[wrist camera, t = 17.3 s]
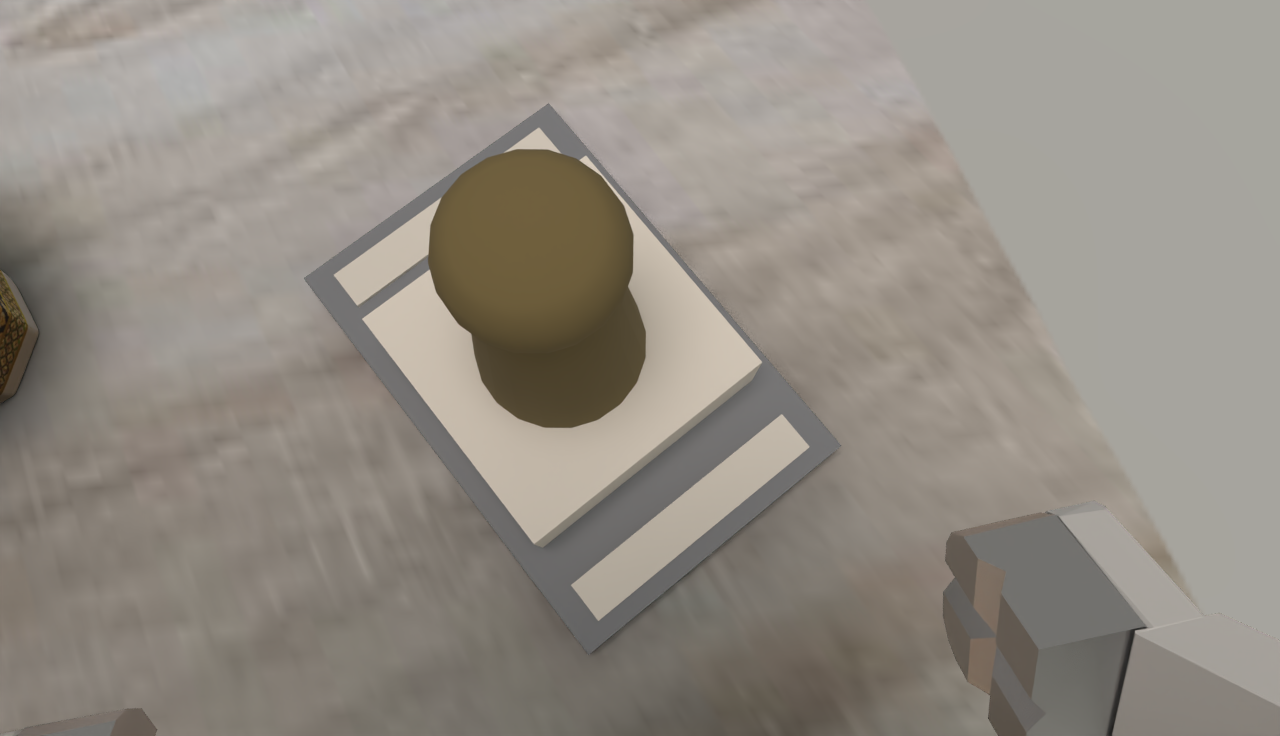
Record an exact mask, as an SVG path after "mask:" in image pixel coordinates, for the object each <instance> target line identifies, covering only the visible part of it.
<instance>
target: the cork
mask: <svg viewBox="0 0 1280 736" xmlns="http://www.w3.org/2000/svg"><path fill="white" fill-rule="evenodd" d="M633 241H634V234H633V231H632V228H631V225H630V222H629V219H628V216H627V213H626V210H625V207H624V205H623V204H622V202H621V201H620V200H619V198H618V197H617V196H616V194H615V193H614V192H613V190H612V189H611V188H610V186H609V185H608V184H607V182H606V181H605V180H604V179H603V177H602V176H601V175H600V174H598V173H597V172H595V171H594V170H592V169H591V168H590V167H588V166H587V165H585V164H584V163H582V162H581V161H579V160H578V159H576V158H573V157H570V156H567V155H564V154H561V153H557V152H554V151H551V150H548V149H516V150H512V151H509V152H505V153H502V154H498V155H494V156H491V157H487V158H486V159H484V160H483V161H481V162H479V163H478V164H476V165H475V166H473V167H472V168H470V169H469V170H467V171H465V172H464V173H462V174H461V175H460V176H459V177H458V179H457V180H456V181H455V182H454V183H453V185H452V186H451V187H450V188H449V189H448V190H447V192H446V193H445V194H444V195H443V196H442V198H441V200H440V203H439V205H438V207H437V210H436V212H435V215H434V217H433V220H432V222H431V225H430V237H429V253H428V265H429V269H430V272H431V276H432V280H433V283H434V287H435V290H436V293H437V295H438V296H439V297H440V299H441V300H442V302H443V303H444V305H445V306H446V308H447V309H448V310H449V312H450V313H451V315H452V316H453V318H454V319H455V320H456V322H457V323H458V324H459V325H460V326H461V327H463V328H464V329H465V330H467V331H468V332H469V333H471V335H472V342H473V349H474V355H475V359H476V363H477V366H478V370H479V373H480V377H481V380H482V382H483V384H484V385H485V387H486V388H487V389H488V391H489V392H490V394H491V395H492V397H493V398H494V400H495V401H496V402H497V403H498V404H499V405H500V406H502V407H503V408H504V409H506V410H507V411H508V412H510V413H511V414H512V415H514V416H515V417H516V418H518V419H520V420H523V421H526V422H529V423H532V424H535V425H538V426H541V427H544V428H573V427H577V426H580V425H583V424H586V423H590V422H593V421H596V420H599V419H600V418H602V417H603V416H604V415H606V414H607V413H609V412H610V411H612V410H613V409H614V408H616V407H617V406H619V405H620V404H621V403H622V402H623V400H624V399H625V398H626V397H627V395H628V394H629V393H630V391H631V390H632V389H633V387H634V386H635V385H636V383H637V381H638V378H639V375H640V373H641V370H642V367H643V364H644V361H645V358H646V330H645V327H644V324H643V321H642V318H641V315H640V312H639V309H638V306H637V304H636V302H635V300H634V298H633V296H632V294H631V292H630V290H629V287H628V285H629V282H630V279H631V277H632V274H633Z"/></svg>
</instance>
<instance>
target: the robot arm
mask: <svg viewBox="0 0 1280 736" xmlns="http://www.w3.org/2000/svg"><path fill="white" fill-rule="evenodd" d="M945 561H946V563H947V565H948V566H949V568H950V570H951V571H952V573H953V575H954V576H955V578H954V579H953V581H952V582H951V583H950V584H949V585H948V587H947V588H946V589H945V590H944V592H943V618H944V623H945V628H946V632H947V637H948V641H949V644H950V646H951V649H952V651H953V654H954V656H955V659H956V661H957V663H958V665H959V667H960V669H961V671H962V672H963V674H964V676H965V678H966V680H967V682H969V683H971V684H972V685H974V686H976V687H977V688H979V689H981V690H982V691H984V692H986V693H987V694H989V695H990V702H989V713H988V719H989V721H990V723H991V724H992V726H993V728H994V730H995V732H996V733H997V735H998V736H1280V640H1279V639H1276V638H1274V637H1272V636H1270V635H1268V634H1265V633H1263V632H1261V631H1258V630H1256V629H1254V628H1252V627H1250V626H1248V625H1245V624H1243V623H1241V622H1239V621H1237V620H1234V619H1232V618H1230V617H1228V616H1225V615H1223V614H1221V613H1217V614H1211V615H1205V616H1204V615H1203V613H1202V612H1201V611H1200V610H1199V609H1198V608H1197V607H1196V606H1195V605H1194V603H1193V602H1192V601H1191V600H1190V599H1189V598H1188V597H1187V596H1186V595H1185V594H1184V592H1183V591H1182V590H1181V589H1180V588H1179V587H1178V586H1177V585H1176V584H1175V583H1174V581H1173V580H1172V579H1171V578H1170V577H1169V576H1168V575H1167V574H1166V573H1165V572H1164V570H1163V569H1162V568H1161V567H1160V566H1159V565H1158V564H1157V563H1156V562H1155V560H1154V559H1153V558H1152V557H1151V556H1150V555H1149V554H1148V553H1147V552H1146V551H1145V549H1144V548H1143V547H1142V546H1141V545H1140V544H1139V543H1138V542H1137V541H1136V540H1135V538H1134V537H1133V536H1132V535H1131V534H1130V533H1129V532H1128V531H1127V530H1126V529H1125V527H1124V526H1123V525H1122V524H1121V523H1120V522H1119V521H1118V520H1117V519H1116V517H1115V516H1114V515H1113V514H1112V513H1111V512H1110V511H1109V510H1108V509H1107V508H1106V507H1105V506H1104V505H1102V504H1100V503H1098V502H1096V501H1091V502H1086V503H1082V504H1077V505H1073V506H1068V507H1064V508H1059V509H1055V510H1050V511H1047V512H1045V513H1036V514H1031V515H1027V516H1022V517H1018V518H1013V519H1009V520H1004V521H1000V522H995V523H991V524H986V525H982V526H978V527H973V528H969V529H964V530H960V531H955V532H951V534H950V536H949V538H948V540H947V542H946V555H945ZM156 732H157V729H156V727H155V726H154V725H153V723H152V722H151V720H150V719H149V718H148V716H147V715H146V714H145V712H144V711H143V710H142V708H133V709H122V710H117V711H112V712H106V713H101V714H96V715H90V716H85V717H80V718H74V719H69V720H64V721H58V722H53V723H48V724H42V725H37V726H32V727H26V728H24V729H20V730H15V731H10V732H4V733H0V736H155V735H156Z"/></svg>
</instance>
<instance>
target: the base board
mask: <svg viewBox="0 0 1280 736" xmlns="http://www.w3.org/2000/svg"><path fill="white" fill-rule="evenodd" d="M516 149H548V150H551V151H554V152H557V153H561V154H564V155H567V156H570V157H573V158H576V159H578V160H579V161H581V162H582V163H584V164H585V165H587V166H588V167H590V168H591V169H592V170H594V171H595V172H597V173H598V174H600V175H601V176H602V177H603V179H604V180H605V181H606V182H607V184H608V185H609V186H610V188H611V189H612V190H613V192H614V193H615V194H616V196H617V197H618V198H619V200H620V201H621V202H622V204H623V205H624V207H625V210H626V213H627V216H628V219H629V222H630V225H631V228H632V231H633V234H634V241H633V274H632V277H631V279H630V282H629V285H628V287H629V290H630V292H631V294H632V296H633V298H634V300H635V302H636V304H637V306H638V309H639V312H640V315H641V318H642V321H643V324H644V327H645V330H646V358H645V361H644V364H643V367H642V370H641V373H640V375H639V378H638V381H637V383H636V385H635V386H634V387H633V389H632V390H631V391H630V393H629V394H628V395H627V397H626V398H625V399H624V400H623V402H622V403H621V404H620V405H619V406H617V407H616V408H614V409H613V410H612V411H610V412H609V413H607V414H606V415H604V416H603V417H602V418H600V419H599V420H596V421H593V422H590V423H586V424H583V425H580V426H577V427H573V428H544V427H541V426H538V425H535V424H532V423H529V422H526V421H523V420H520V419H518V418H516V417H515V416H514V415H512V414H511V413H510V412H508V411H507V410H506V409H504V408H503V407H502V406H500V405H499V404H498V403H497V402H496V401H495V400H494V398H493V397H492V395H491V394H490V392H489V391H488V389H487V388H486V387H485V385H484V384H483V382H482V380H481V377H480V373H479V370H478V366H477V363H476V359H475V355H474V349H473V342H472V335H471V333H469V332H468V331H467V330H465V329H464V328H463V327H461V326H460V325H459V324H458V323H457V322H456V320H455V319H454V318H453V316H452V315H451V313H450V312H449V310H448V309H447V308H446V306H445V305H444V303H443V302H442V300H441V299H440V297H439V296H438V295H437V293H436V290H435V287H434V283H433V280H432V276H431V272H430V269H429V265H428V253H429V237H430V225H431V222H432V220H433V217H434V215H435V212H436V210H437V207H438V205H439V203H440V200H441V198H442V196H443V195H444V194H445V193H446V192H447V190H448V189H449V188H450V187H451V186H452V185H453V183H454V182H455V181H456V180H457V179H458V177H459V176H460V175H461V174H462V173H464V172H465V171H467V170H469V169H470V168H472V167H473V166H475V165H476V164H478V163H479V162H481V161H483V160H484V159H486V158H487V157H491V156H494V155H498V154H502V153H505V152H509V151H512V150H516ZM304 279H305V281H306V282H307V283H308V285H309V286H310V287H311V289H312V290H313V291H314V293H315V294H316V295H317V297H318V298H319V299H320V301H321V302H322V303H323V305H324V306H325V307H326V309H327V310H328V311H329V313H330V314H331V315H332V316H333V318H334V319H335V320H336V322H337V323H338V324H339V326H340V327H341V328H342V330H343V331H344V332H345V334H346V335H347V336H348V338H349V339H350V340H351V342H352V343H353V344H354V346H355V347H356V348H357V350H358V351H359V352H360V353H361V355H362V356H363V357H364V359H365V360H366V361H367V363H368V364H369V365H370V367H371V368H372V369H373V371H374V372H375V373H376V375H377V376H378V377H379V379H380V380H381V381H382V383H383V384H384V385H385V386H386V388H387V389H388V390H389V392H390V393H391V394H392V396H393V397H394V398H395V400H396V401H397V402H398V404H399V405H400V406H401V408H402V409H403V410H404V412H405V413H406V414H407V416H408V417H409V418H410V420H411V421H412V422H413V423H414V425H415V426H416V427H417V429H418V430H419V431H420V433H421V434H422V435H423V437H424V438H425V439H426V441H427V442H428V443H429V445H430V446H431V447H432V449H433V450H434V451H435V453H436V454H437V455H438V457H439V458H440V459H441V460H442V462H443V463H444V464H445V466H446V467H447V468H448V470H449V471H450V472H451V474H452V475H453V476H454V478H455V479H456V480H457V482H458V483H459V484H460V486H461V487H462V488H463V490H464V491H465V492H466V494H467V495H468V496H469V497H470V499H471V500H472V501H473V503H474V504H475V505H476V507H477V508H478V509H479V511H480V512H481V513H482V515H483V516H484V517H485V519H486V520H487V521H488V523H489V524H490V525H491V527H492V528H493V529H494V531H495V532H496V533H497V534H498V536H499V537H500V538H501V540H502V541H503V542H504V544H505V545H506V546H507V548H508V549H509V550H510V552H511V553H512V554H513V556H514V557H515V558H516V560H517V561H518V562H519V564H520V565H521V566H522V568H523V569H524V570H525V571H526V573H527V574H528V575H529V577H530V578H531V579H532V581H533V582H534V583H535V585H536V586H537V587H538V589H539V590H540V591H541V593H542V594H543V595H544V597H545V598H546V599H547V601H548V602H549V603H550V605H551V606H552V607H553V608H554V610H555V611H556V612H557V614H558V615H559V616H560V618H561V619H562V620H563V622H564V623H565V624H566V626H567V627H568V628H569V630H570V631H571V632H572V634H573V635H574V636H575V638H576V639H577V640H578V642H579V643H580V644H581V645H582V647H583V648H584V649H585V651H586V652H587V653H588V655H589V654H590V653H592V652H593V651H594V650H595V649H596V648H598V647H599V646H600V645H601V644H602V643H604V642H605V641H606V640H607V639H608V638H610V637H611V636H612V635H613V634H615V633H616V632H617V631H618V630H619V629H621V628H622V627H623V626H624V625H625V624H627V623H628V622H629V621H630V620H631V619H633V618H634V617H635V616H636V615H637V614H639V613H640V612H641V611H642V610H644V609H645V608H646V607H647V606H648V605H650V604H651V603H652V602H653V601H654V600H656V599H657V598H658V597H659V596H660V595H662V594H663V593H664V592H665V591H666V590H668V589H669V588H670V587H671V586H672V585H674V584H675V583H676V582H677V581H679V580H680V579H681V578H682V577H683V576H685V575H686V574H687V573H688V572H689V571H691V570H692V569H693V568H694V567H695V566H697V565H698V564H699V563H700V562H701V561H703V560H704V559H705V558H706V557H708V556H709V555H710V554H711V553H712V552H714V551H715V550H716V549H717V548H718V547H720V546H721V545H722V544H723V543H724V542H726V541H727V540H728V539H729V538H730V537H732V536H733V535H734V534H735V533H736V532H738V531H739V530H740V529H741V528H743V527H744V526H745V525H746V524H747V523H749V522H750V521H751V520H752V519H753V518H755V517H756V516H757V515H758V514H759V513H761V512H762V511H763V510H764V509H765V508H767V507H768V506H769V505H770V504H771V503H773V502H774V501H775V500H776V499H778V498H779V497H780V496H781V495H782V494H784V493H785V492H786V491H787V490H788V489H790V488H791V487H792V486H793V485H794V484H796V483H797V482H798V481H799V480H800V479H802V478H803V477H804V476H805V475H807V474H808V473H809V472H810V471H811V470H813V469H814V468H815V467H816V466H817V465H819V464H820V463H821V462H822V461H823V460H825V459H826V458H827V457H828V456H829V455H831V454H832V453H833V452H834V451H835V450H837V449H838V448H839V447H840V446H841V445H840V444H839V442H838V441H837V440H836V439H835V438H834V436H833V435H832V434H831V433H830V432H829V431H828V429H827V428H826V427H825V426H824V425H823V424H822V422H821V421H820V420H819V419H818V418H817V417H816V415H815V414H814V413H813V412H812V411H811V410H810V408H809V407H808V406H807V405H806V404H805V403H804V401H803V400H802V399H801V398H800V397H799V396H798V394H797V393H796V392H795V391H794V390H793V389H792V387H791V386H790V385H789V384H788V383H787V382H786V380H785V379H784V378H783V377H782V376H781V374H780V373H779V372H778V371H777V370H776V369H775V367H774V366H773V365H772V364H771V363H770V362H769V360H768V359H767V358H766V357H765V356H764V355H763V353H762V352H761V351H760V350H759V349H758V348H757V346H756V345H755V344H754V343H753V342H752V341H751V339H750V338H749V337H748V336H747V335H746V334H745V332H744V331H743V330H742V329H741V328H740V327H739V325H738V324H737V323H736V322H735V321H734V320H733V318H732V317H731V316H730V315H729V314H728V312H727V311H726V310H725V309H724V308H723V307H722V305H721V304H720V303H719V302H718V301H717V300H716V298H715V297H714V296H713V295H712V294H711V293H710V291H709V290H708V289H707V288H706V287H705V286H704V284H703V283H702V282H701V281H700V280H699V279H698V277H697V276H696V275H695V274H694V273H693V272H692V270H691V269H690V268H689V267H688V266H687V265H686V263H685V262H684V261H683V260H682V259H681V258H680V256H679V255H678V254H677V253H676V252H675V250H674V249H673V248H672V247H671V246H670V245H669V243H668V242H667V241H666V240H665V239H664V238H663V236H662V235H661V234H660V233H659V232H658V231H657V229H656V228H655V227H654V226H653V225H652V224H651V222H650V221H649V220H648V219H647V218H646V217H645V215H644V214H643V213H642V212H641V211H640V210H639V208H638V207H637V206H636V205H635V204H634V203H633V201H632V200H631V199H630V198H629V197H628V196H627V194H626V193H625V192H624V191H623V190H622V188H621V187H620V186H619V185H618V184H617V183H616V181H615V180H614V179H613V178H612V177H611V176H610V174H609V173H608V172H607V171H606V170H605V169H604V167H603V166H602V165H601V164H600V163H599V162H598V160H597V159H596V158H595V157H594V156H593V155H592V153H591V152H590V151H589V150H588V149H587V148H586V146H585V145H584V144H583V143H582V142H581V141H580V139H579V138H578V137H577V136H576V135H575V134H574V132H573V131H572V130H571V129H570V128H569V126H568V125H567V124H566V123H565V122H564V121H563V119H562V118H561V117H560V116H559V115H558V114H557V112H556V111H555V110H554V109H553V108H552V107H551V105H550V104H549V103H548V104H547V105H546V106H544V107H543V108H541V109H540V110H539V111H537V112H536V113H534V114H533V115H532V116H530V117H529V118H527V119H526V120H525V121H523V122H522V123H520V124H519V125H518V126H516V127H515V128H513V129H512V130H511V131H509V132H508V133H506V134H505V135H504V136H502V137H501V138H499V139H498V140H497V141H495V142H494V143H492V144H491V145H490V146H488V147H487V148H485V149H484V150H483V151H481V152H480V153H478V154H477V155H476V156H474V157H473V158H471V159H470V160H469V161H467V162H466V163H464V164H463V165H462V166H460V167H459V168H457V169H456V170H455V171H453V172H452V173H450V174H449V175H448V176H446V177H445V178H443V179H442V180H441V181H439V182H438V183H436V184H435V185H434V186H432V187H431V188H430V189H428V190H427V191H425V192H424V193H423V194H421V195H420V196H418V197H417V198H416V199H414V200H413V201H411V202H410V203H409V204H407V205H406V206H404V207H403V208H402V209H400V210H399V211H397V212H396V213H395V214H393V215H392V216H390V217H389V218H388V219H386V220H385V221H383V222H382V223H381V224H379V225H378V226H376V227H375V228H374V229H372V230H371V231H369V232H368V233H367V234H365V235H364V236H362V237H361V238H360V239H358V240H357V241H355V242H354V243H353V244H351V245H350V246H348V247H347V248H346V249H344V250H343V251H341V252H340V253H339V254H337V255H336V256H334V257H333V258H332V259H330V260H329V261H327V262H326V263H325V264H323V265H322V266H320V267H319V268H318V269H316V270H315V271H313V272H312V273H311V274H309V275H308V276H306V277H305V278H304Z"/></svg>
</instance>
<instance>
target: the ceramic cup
mask: <svg viewBox="0 0 1280 736" xmlns="http://www.w3.org/2000/svg"><path fill="white" fill-rule="evenodd" d="M38 334H39V331H38V328H37V326H36V324H35V322H34V320H33V318H32V316H31V314H30V312H29V310H28V308H27V306H26V304H25V302H24V300H23V298H22V296H21V294H20V292H19V290H18V288H17V286H16V285H15V284H14V282H13V281H12V279H11V278H10V277H8V276H7V275H6V274H5V273H4V272H2V271H1V270H0V403H2V402H4V401H5V400H7V399H9V398H10V397H12V396H13V395H15V393H16V391H17V389H18V386H19V384H20V381H21V379H22V376H23V373H24V371H25V368H26V366H27V363H28V361H29V358H30V356H31V353H32V350H33V348H34V345H35V343H36V340H37V337H38Z"/></svg>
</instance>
